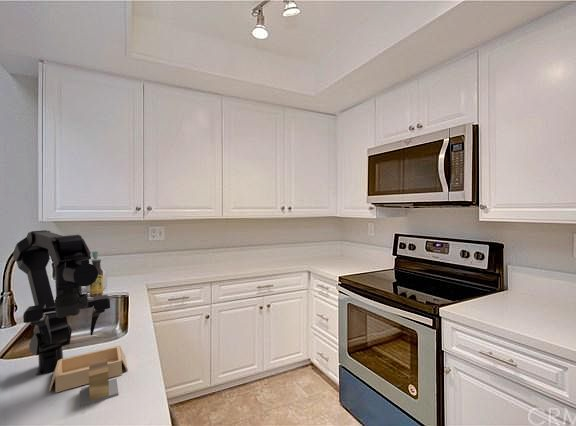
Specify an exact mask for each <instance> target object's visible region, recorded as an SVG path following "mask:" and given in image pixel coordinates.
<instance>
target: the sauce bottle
mask: <svg viewBox="0 0 576 426" xmlns="http://www.w3.org/2000/svg"><path fill="white" fill-rule="evenodd" d="M93 259H94V258H93ZM101 261H102V260H101V258H97V259H94V260H92V261H91V264H93V265H94V266H95V267H96V268H97V270H98V277H97V279H96V281H95V282H94V283H92V284H91V285H90V292H89V297H92V298H93V297H95V296H101V295H103V293H104V290H103V271H102V269H103V268H102V267H101ZM100 267H101V268H102V269H101V268H100Z"/></svg>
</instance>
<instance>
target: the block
mask: <svg viewBox="0 0 576 426" xmlns="http://www.w3.org/2000/svg"><path fill="white" fill-rule="evenodd" d="M88 386H89V391H90V401H92V400H95V399H98V398H102V397H105V396H108V395H109V378H108V363H107V359H105V360H101V361H97V362H93V363H89V384H88Z"/></svg>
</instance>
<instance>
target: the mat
mask: <svg viewBox="0 0 576 426" xmlns="http://www.w3.org/2000/svg"><path fill="white" fill-rule="evenodd" d="M108 381H109V395H108V396H105V397H102V398H98V399H95V400H92V401H90V391H89V385H87V386H84V387H80V400H79V407H80V408H81V407H84V406H87V405H90V404H94V403H99V402H100V401H103V400H107V399H110V398H113V397H117V396H119V388H118V380H117V377H116V378H113V379H108Z"/></svg>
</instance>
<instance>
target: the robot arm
mask: <svg viewBox="0 0 576 426" xmlns="http://www.w3.org/2000/svg"><path fill="white" fill-rule="evenodd" d="M91 254H92V252H91V251H90V248H89V247H88V245H87V243H86V241H85V239H84V238H83V237H82V236H81V235H80V234H71V235H69V234H68V235H61V234H58V233H55V232H51V231H50V230H45V229H43V230H31V231H28V233H27V235H26V237H25V238H23V239H21V240H20V241H19V242H17V243H16V245H15V247H14V249H13V253H12V256H13V257H12V258H13V260H14V262H16V264H17V268H18V269H19V270H20V271H22V273H23V272H24V273H25V274H26V276H27V278H28V279H27V280H28V284H29V287H30V288H29V289H30V292H31V296H32V300H33V303H34V305H31V306H28V307H27V309H25V311H23V317H22V319H23V324H27V323H30V325H31V326H34V328H33V335H32V338H31V340H30V342H29V345H28V346H29V352H30V353H31V354H32V355H35V356H38V367H37V370H36V373H35V375H36V376H40V375H44V374H48V373H51V372H52V373H54V370H55V367H56V365H57V362H58V360H59V361H60V359H63V358H64V355H63V354H64V353H63V352H64V351H63V347H65V346H69V345H71V339H72V338H71V337H72V330H73V329H72V328H71V326H70V324H69V323H68V319H67V317H70V316H73V317H74V316H77V315H79V314H80V310H84V309H90V308H92V309H91V310H92V312H91V322H90V331H89V333H90V336H93V335H94V334H93V333H94V331H95V327H96V324H97V321H98V319H99V316H100V315H101V314H103V313H105V312H106V310H108V309H110V308H111V299H110V295H108V294H104V295H103V294H102V295H101V296H95V297H92V298H93V299H91V300H89V296H88V293H83V287H86V286H89V285H91V284H92V283H94V282H95V281H96V279H97V277H98V270H97V268H96V267H95V266H94V265H92V263H90V260H91V259H92V257H91ZM50 257H51V258H50ZM51 259H52V261H53V262H52V265H54V280H55V298H54V295H53V291H52V288H51V287H52V286H51V283H50V279H49V275H48V272H47V266H48V264H49V261H50V260H51ZM58 365H59V364H58ZM57 369H58V368H57Z"/></svg>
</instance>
